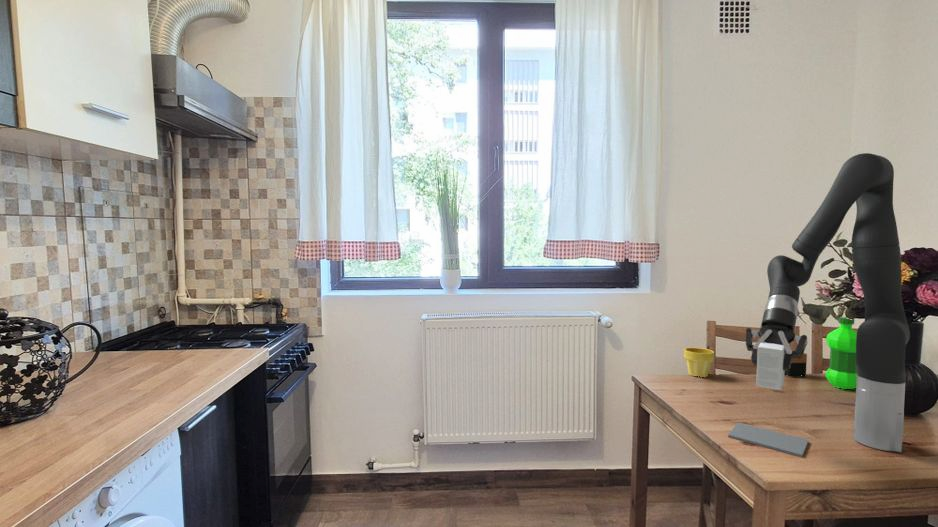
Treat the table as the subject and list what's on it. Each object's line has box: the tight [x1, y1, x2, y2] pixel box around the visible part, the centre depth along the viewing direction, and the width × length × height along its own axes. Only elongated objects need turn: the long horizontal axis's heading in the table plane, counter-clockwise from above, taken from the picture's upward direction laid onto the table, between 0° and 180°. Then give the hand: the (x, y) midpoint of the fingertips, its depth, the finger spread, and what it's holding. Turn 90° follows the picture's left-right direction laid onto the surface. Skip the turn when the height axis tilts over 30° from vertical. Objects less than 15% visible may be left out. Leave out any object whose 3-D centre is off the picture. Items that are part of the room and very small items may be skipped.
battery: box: [784, 349, 808, 377], centre depth 172 cm, size 4×7×10 cm, turn 93°
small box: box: [755, 342, 785, 391], centre depth 117 cm, size 8×6×10 cm
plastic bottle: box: [825, 316, 857, 390], centre depth 158 cm, size 10×10×25 cm
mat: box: [727, 422, 809, 458], centre depth 118 cm, size 16×11×1 cm
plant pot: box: [683, 346, 715, 378], centre depth 173 cm, size 10×10×10 cm
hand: (769, 366), depth 116 cm, fingers closed on small box, 6 cm apart
